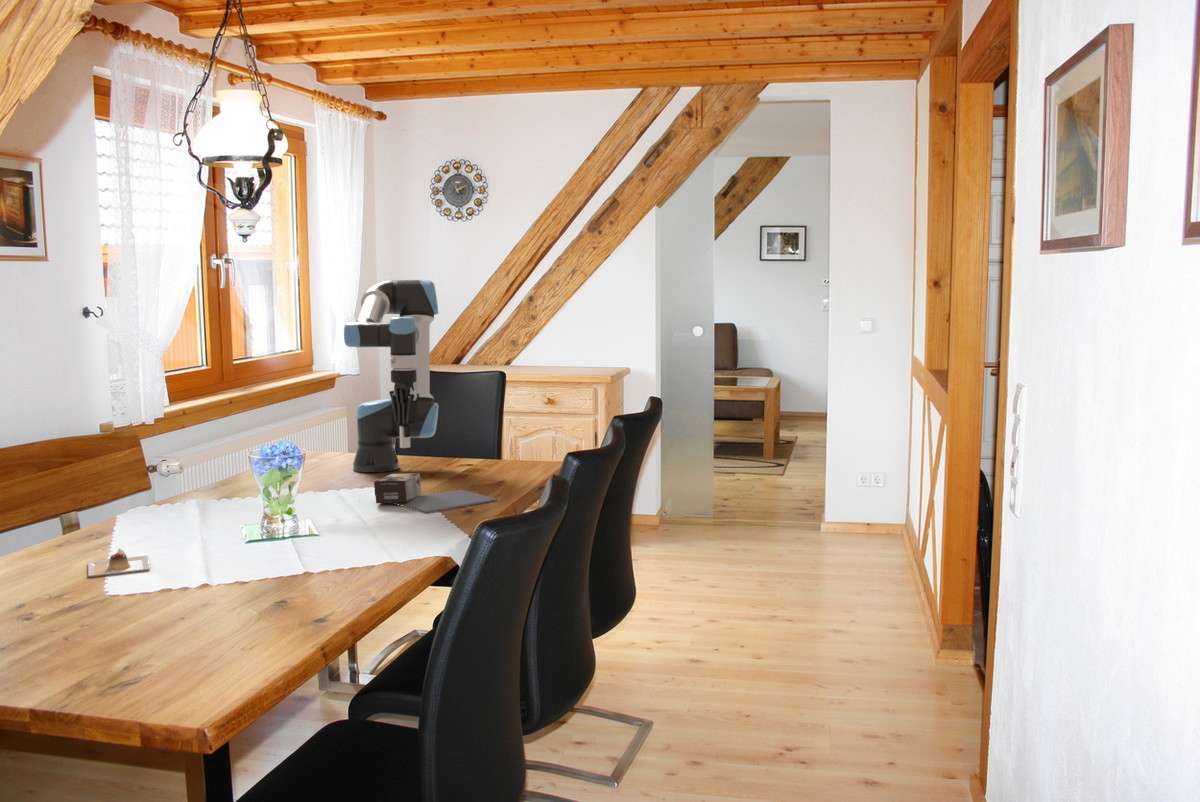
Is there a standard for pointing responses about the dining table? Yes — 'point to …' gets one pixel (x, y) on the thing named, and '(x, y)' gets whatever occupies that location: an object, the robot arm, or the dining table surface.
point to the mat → (446, 501)
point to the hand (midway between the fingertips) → (405, 447)
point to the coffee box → (397, 488)
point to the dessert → (118, 564)
